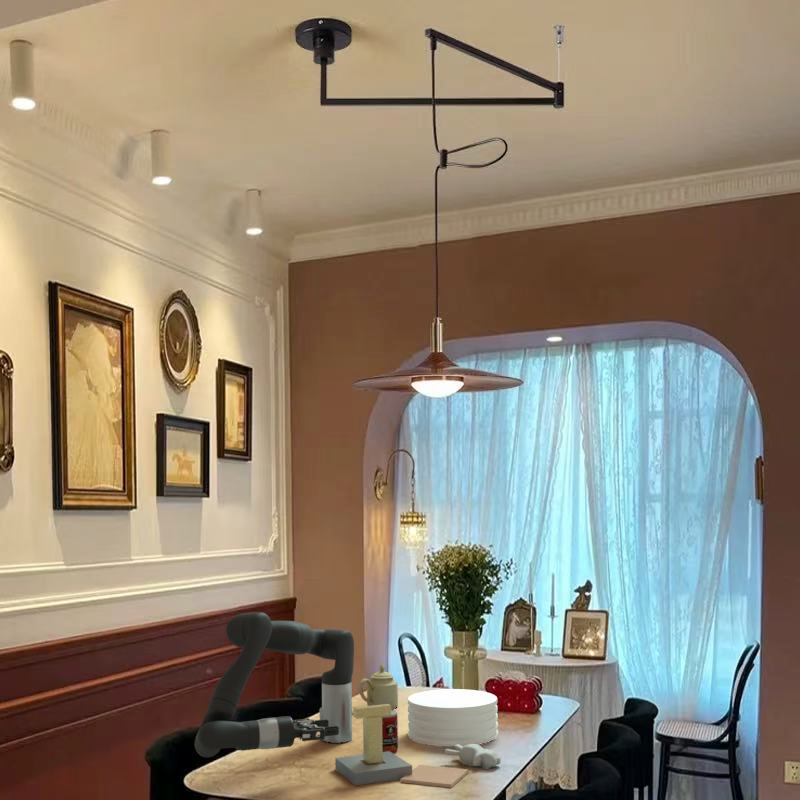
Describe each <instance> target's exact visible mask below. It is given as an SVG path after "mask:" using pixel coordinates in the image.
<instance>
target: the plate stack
mask: <svg viewBox="0 0 800 800" xmlns="http://www.w3.org/2000/svg"><path fill="white" fill-rule="evenodd" d="M407 704H408V706H407V712H408V714H407V720H408V723H407V726H408V734H407V735H408V736H407V737H408V738H409V739H410V740H411V739H412V740H411V741H412V742H415V741H416V742H415V743H417V742H419V743H418V744H421V743H423V744H422V745H425V744H427V746H431V745H435V746H434V747H441V746H454V745H456V744H459V745H461V746H464V745H468V744H480V743H485V742H488V741H491V740H494V739H495V738H497V737H498V738H499V730H498V729H499V722H498V721H499V720H498V719H499V717H498V708H499V707H498V705H497V704H498V697H497V695H495V694H493V693H490V692H486V691H483V690H476V689H463V688H461V689H460V688H447V689H446V688H445V689H431V690H426V691H420V692H419V691H418V692H416V693H412V694H411V695H409V696H408V698H407ZM498 738H497V739H498ZM495 740H496V739H495ZM495 740H494V741H495ZM485 744H486V743H485Z"/></svg>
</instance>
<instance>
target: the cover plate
mask: <svg viewBox="0 0 800 800" xmlns="http://www.w3.org/2000/svg"><path fill="white" fill-rule="evenodd" d="M334 768H335V771H337V772H338V771H339V772H340V773H339V772H338V773H339V774H340V775H342V776H343V777H345V778H346V779H347V780H348V781H349V782H351V784H353V785H354V786H359V785H360V786H361V785H368V784H375V783H376V784H377V783H381V782H382V783H384V782H389V781H396V780H397V781H398V780H401V778H403V777H404V776H405V775H410V774H412V770H413V765H412V764H410V763H409V762H407V761H406V760H404V759H403V758H401V757H399V756H398V755H396V754H395V753H391V752H390V751H387V752H383V764H376V765H369V766H367V765H365V764H364V755H363V754H356V755H351V756H350V755H349V756H342V757H336V758H335V767H334Z"/></svg>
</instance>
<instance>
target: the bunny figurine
mask: <svg viewBox="0 0 800 800" xmlns="http://www.w3.org/2000/svg"><path fill="white" fill-rule="evenodd" d="M453 748H454V749H451V748H450V749H449V748H445V750H444V755H445V756H456V757H457V756H458V758H459V760H460V762H461V764H462V765H464V764H465V765H464V766H467V765H471V766H470V767H481V768H482V767H483V769H484V768H489V769H491V768H494V767H496V766H499V764H501V762H502V761H501V760H502V759H501V757H499V755H498V754H497V752H496V751H494V750H491V749H487V748H483V747H482V746H481V745H477V744H468V745H465V746H461V745H459V744H456V745H454V747H453Z"/></svg>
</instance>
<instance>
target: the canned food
mask: <svg viewBox="0 0 800 800" xmlns="http://www.w3.org/2000/svg"><path fill="white" fill-rule="evenodd" d="M398 724H399V723H398V712H397V711H396V710H394V709H391V715H387V716H382V745H383V752H387V751H390V752H391V753H393V754H395V753H397V751H398V750H399V749H398V747H399V745H398V743H399V740H398V738H399V735H398V734H399V731H398V730H399V728H398ZM394 752H395V753H394Z"/></svg>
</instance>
